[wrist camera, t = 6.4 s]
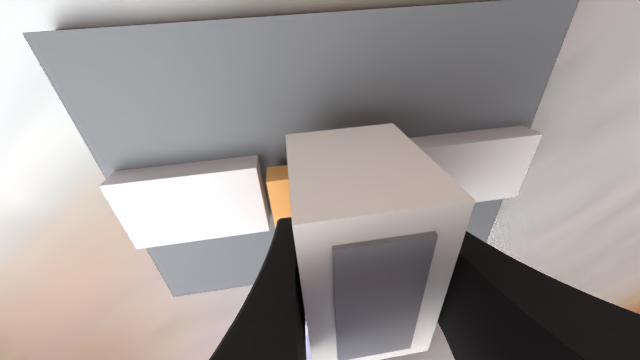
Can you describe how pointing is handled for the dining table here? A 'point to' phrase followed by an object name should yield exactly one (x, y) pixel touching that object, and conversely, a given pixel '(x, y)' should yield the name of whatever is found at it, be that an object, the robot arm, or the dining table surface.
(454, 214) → the block
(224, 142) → the rail board
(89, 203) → the dining table surface
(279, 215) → the block
